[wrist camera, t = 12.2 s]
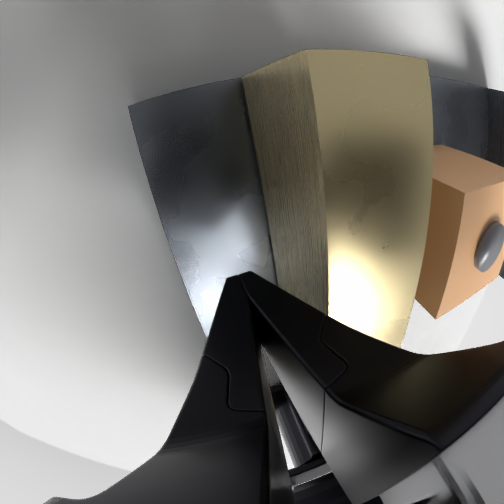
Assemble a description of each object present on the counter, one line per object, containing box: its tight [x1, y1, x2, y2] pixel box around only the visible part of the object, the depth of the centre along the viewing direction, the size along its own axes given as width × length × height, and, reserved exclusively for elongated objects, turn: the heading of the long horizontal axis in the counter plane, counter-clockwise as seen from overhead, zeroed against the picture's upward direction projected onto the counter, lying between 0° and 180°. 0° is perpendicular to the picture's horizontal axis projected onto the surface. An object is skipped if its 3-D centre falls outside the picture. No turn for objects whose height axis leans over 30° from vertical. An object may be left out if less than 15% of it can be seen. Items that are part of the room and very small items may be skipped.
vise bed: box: [128, 76, 504, 338], centre depth 10 cm, size 12×22×7 cm, turn 100°
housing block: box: [415, 145, 504, 319], centre depth 10 cm, size 5×5×5 cm
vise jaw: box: [242, 49, 433, 348], centre depth 9 cm, size 12×3×5 cm, turn 10°
